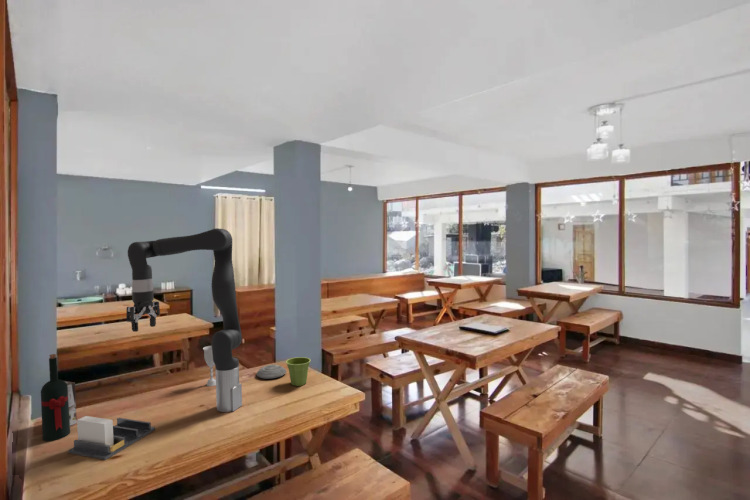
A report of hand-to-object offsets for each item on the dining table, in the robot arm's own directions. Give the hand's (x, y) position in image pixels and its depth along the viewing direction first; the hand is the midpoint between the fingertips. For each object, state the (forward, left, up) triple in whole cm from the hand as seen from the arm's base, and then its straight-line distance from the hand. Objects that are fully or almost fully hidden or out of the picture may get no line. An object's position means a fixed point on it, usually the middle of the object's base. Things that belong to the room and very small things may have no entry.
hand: (144, 328), depth 162 cm
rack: (-9, +23, -34) cm, 42 cm away
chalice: (-8, -30, -34) cm, 46 cm away
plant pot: (-49, -41, -34) cm, 73 cm away
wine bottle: (+14, +26, -34) cm, 45 cm away
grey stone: (-30, -48, -35) cm, 66 cm away
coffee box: (+22, +19, -34) cm, 45 cm away
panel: (-8, +29, -33) cm, 44 cm away
